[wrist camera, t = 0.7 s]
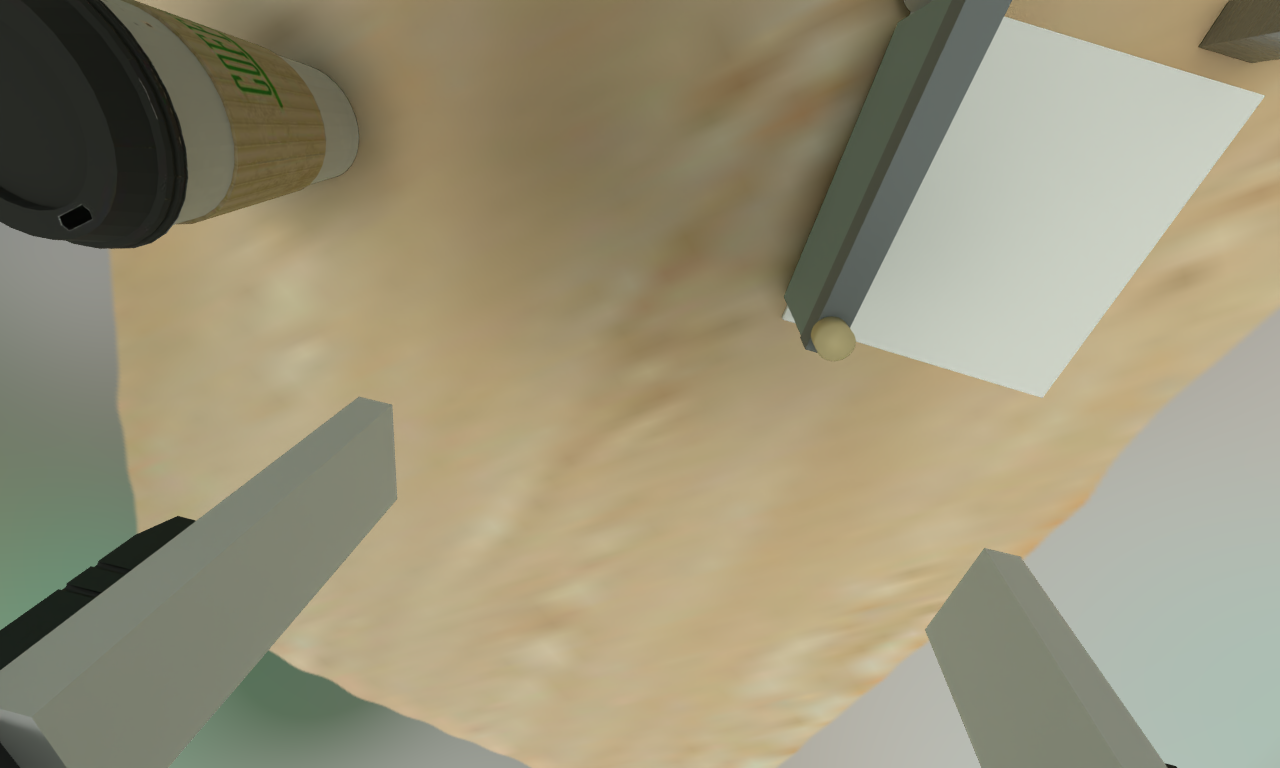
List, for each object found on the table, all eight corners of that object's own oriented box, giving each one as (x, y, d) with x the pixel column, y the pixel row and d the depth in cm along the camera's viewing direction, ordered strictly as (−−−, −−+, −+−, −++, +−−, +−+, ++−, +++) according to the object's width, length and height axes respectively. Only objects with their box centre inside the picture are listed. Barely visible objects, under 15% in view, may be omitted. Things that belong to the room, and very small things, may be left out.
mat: (918, -7, 24) (921, -9, 24) (1257, 96, 24) (1265, 95, 24) (781, 317, 32) (782, 319, 32) (1038, 394, 32) (1042, 397, 32)
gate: (916, -45, 23) (1040, -158, 14) (958, -32, 23) (1107, -136, 14) (777, 294, 30) (803, 357, 22) (809, 304, 30) (847, 370, 22)
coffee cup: (327, -7, 27) (-41, -145, 14) (417, 178, 31) (194, 208, 18) (198, 67, 30) (-218, 9, 17) (295, 229, 34) (19, 290, 20)
